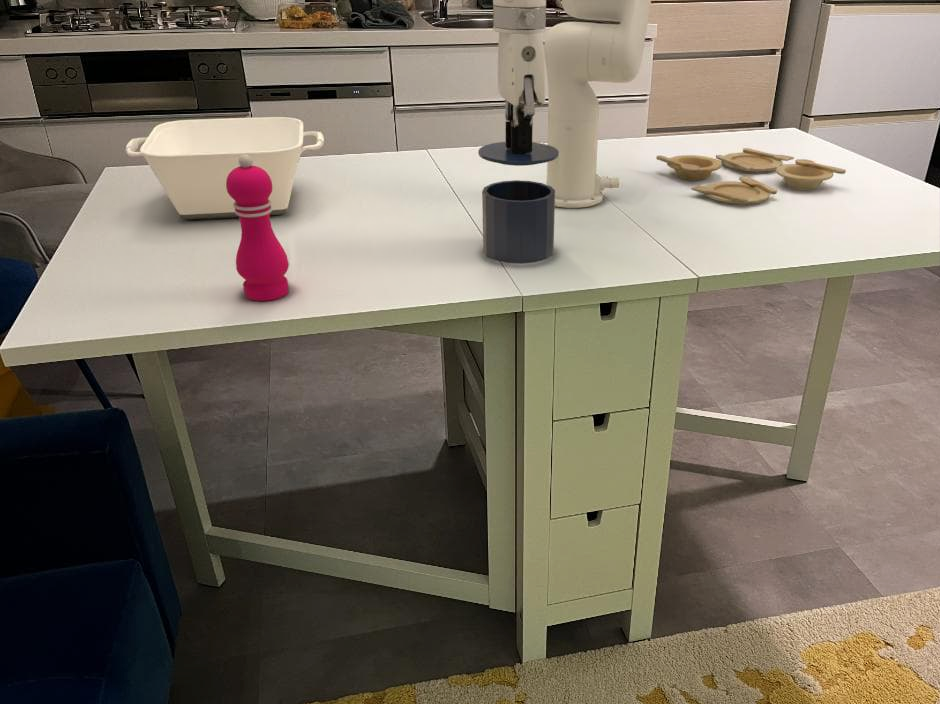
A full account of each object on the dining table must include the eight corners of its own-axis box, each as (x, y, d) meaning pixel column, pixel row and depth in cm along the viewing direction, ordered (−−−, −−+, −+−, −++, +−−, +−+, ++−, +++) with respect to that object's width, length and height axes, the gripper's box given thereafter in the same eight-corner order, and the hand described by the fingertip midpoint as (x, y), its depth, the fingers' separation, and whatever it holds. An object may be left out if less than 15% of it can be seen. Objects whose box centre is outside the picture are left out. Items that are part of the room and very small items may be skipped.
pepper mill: (247, 283, 125) (223, 148, 114) (296, 282, 125) (276, 147, 115) (236, 303, 119) (209, 162, 108) (288, 302, 119) (266, 161, 109)
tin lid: (544, 146, 136) (545, 110, 133) (569, 166, 126) (570, 128, 123) (470, 150, 133) (469, 114, 130) (489, 171, 122) (489, 132, 120)
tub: (129, 233, 142) (110, 157, 136) (153, 188, 164) (138, 121, 158) (332, 221, 149) (323, 149, 142) (329, 179, 171) (322, 115, 165)
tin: (541, 239, 143) (542, 178, 138) (562, 262, 134) (564, 198, 129) (476, 244, 140) (475, 183, 135) (493, 269, 131) (492, 204, 126)
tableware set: (756, 154, 195) (759, 136, 192) (856, 187, 173) (860, 167, 171) (636, 174, 179) (638, 154, 177) (729, 212, 158) (732, 191, 155)
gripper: (562, 26, 113) (558, 162, 123) (528, 13, 127) (527, 137, 136) (509, 27, 111) (509, 165, 121) (480, 13, 125) (482, 139, 134)
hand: (518, 149), depth 128 cm, fingers closed on tin lid, 2 cm apart
